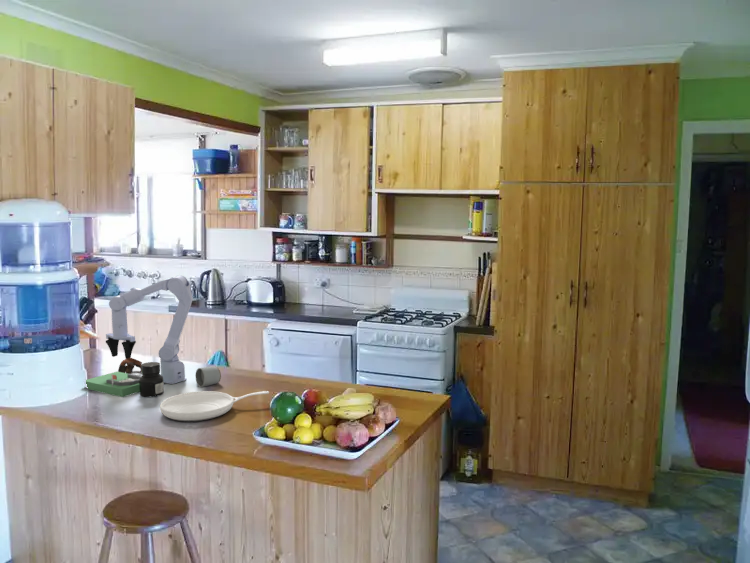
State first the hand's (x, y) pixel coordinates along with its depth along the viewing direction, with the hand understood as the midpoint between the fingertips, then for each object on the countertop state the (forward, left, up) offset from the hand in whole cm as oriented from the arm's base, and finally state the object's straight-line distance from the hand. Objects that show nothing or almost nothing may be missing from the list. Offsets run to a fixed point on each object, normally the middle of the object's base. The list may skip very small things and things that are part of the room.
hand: (121, 357), depth 254 cm
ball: (-12, +6, -8) cm, 16 cm away
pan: (-60, +7, -11) cm, 61 cm away
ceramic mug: (-33, -14, -11) cm, 38 cm away
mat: (-6, +6, -10) cm, 13 cm away
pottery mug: (+8, -10, -11) cm, 16 cm away
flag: (-13, +14, -10) cm, 21 cm away
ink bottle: (-25, +6, -11) cm, 28 cm away
